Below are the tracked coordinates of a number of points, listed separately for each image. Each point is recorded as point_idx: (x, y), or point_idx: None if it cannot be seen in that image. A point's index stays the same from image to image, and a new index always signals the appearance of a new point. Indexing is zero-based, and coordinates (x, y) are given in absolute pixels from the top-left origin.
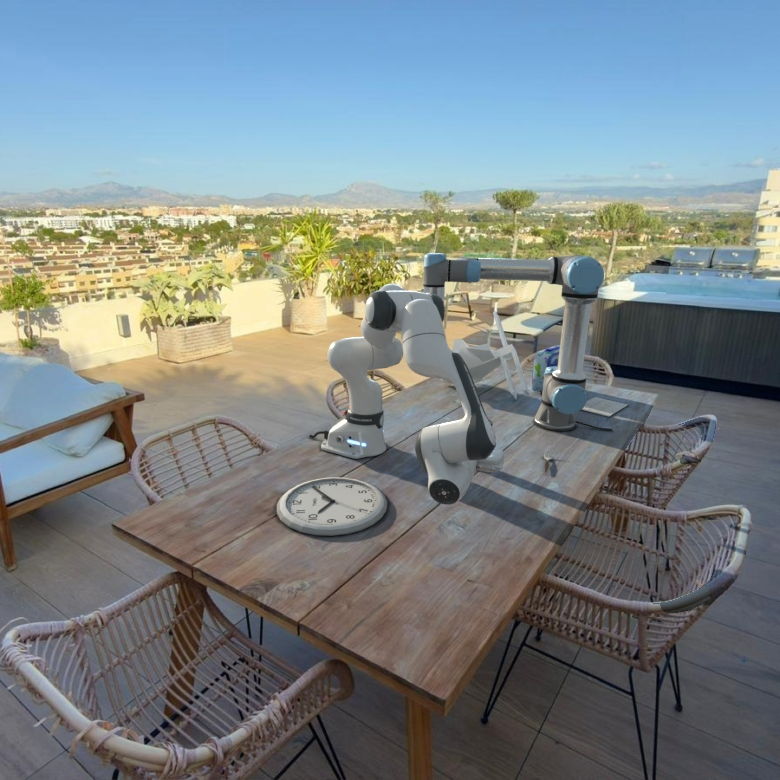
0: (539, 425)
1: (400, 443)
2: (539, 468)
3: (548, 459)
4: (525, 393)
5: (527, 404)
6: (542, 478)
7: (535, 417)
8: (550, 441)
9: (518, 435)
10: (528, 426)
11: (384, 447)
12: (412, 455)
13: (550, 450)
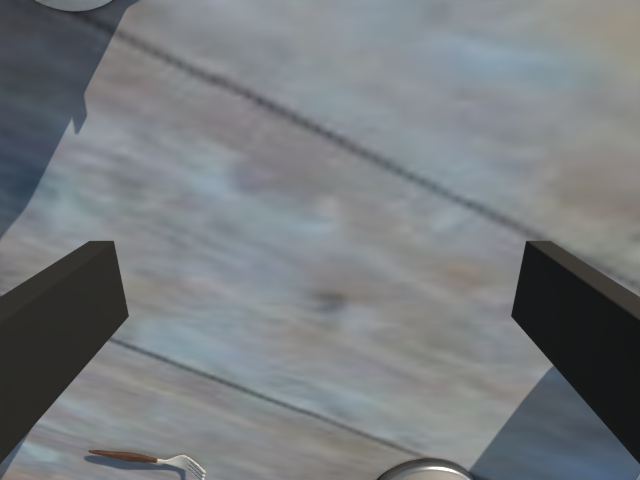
0: (398, 468)
1: (158, 61)
2: (121, 439)
3: (165, 463)
4: (638, 477)
5: (595, 454)
6: (69, 439)
7: (432, 473)
8: (297, 475)
9: (324, 414)
10: (399, 441)
11: (51, 2)
12: (70, 121)
13: (201, 477)
